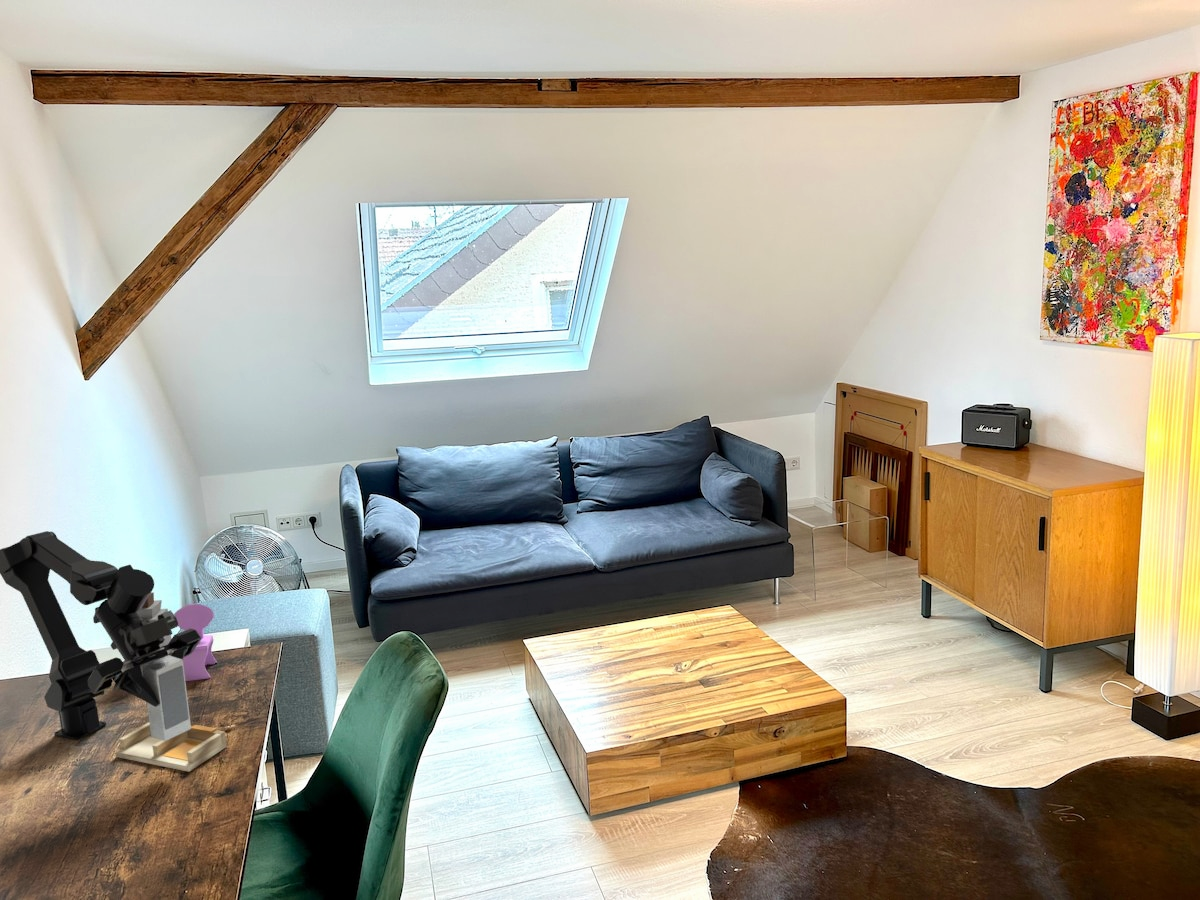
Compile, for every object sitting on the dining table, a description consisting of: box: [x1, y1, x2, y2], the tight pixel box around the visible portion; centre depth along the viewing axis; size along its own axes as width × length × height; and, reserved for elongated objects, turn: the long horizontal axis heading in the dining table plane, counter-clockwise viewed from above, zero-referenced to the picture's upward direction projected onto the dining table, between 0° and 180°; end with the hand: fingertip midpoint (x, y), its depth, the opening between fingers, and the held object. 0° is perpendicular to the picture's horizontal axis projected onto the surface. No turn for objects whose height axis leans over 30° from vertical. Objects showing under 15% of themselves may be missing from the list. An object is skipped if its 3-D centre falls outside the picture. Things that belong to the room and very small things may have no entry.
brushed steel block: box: [142, 655, 192, 741], centre depth 158 cm, size 4×5×13 cm
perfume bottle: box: [137, 592, 172, 676], centre depth 200 cm, size 7×7×18 cm
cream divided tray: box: [115, 721, 227, 772], centre depth 166 cm, size 9×17×3 cm, turn 69°
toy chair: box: [173, 603, 218, 682], centre depth 199 cm, size 8×9×15 cm
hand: (171, 698), depth 157 cm, fingers closed on brushed steel block, 5 cm apart
